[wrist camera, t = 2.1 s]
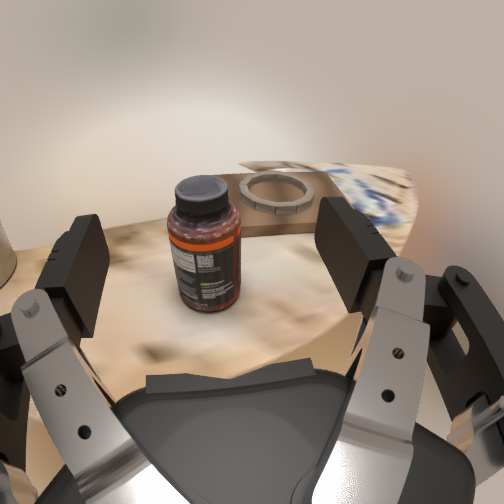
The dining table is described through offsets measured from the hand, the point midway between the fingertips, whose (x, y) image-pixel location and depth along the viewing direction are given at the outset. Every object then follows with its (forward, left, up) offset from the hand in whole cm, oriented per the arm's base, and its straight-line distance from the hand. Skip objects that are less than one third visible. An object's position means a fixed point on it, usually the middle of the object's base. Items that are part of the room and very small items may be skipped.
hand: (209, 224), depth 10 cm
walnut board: (+10, +26, -16) cm, 32 cm away
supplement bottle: (0, +11, -16) cm, 19 cm away
